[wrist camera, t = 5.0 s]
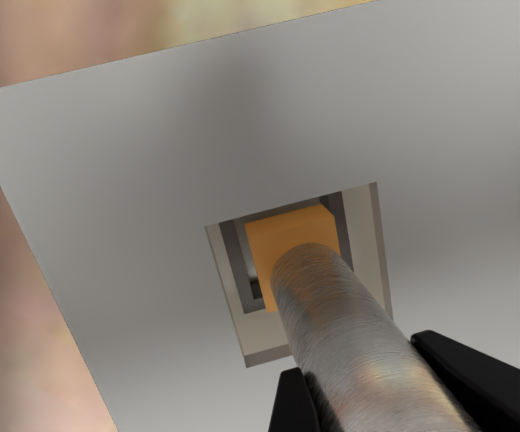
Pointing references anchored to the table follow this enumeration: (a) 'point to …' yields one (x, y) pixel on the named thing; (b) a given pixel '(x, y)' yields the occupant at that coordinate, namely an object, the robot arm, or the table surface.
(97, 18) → the table surface
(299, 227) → the button
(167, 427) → the grey square-hole box
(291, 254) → the shiny metal cylinder
